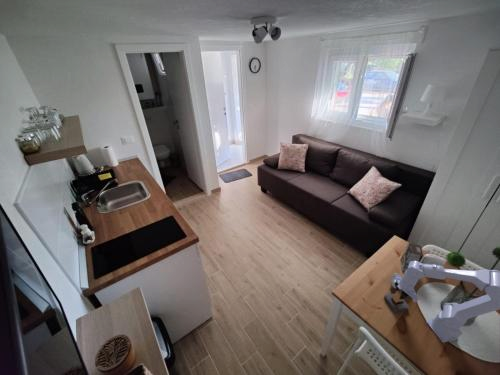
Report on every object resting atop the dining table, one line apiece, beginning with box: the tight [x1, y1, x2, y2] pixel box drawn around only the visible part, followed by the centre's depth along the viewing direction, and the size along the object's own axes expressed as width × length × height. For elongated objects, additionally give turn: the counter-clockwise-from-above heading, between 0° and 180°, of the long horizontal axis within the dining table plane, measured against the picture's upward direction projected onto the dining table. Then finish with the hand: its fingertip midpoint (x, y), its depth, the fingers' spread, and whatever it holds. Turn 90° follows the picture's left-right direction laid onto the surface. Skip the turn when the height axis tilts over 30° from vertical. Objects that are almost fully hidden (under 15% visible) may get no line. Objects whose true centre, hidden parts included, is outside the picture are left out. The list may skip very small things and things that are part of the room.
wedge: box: [392, 290, 405, 303], centre depth 112 cm, size 2×4×7 cm, turn 99°
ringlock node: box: [383, 275, 410, 313], centre depth 119 cm, size 17×17×7 cm
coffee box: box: [400, 242, 424, 272], centre depth 131 cm, size 9×6×16 cm
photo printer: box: [420, 253, 447, 268], centre depth 129 cm, size 10×4×12 cm, turn 61°
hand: (399, 295), depth 112 cm, fingers closed on wedge, 2 cm apart
